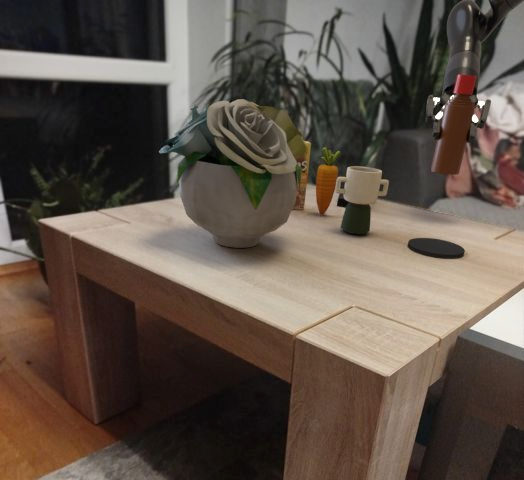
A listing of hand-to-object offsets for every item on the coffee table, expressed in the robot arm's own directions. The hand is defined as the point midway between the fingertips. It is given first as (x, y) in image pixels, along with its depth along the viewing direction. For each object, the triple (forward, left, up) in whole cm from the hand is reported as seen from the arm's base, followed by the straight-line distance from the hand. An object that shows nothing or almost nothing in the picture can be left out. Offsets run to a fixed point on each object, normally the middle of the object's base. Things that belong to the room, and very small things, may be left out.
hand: (453, 138), depth 111 cm
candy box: (+35, -8, -19) cm, 41 cm away
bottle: (-1, -2, -7) cm, 8 cm away
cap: (0, -2, +9) cm, 9 cm away
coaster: (+9, +22, -19) cm, 30 cm away
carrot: (+27, -2, -19) cm, 33 cm away
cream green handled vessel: (+23, +12, -19) cm, 32 cm away
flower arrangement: (+49, +22, -19) cm, 57 cm away
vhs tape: (+15, -18, -19) cm, 30 cm away
